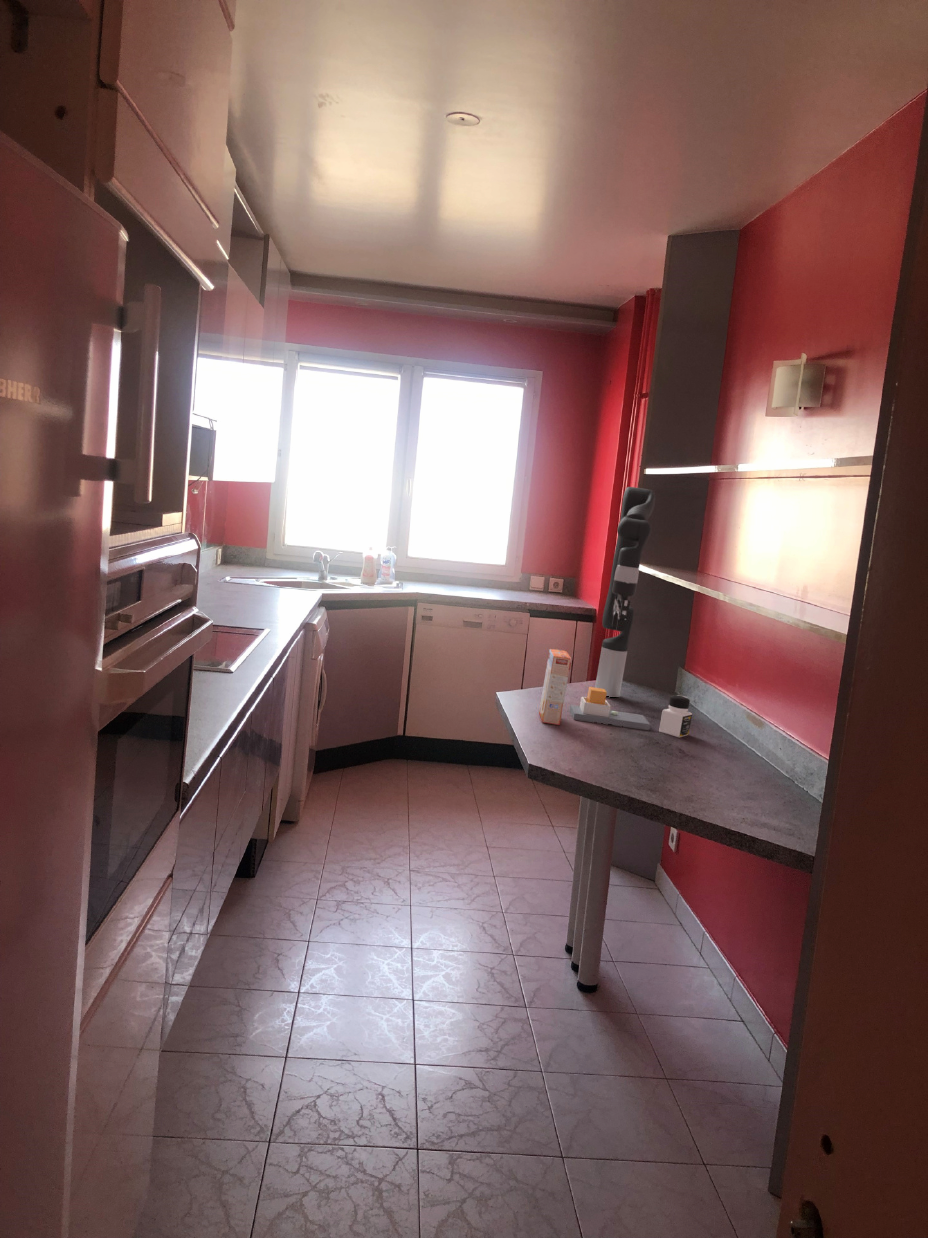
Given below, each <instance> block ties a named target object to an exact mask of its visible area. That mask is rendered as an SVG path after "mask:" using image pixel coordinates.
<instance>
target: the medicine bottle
mask: <svg viewBox="0 0 928 1238" xmlns="http://www.w3.org/2000/svg"><path fill="white" fill-rule="evenodd" d="M690 702H691V701H690V699H689V698H688V697H687V696H684V695H679V694H673V695H670V697H669V702H668V708H664V709H662V712H661V718H660V722H659V729H658V731H659V732H660V733H662V734H665V735H670V736H672V737H676V738H682V737H686V736H688V735H689V734H690V728H691V723H692V718H693V713H692V712H690V711H689V706H690Z"/></svg>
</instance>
